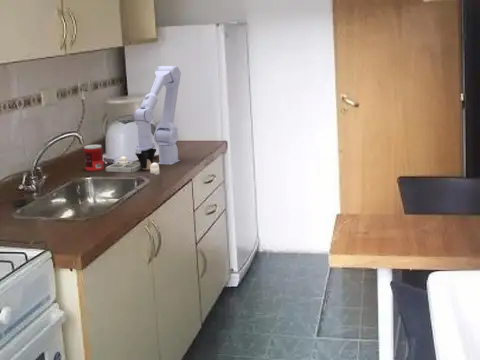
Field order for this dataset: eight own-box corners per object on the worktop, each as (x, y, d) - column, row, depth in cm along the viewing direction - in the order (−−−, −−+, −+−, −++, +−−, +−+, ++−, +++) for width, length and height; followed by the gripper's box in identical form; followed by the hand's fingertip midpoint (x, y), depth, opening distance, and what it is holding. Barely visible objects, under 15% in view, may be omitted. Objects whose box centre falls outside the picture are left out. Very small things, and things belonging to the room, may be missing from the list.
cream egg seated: (122, 165, 305) (121, 155, 304) (129, 166, 304) (128, 155, 302) (117, 167, 301) (117, 156, 300) (125, 168, 300) (124, 157, 299)
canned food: (105, 168, 304) (103, 144, 301) (100, 172, 296) (98, 147, 293) (89, 168, 304) (87, 144, 302) (83, 172, 297) (81, 147, 294)
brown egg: (145, 168, 300) (144, 158, 299) (153, 169, 299) (152, 158, 298) (141, 170, 297) (140, 159, 295) (149, 171, 295) (148, 160, 294)
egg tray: (120, 166, 307) (120, 161, 306) (147, 167, 303) (146, 162, 302) (105, 172, 295) (105, 167, 294) (133, 173, 291) (132, 168, 290)
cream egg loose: (152, 172, 292) (152, 161, 291) (160, 173, 290) (160, 161, 289) (148, 174, 288) (148, 163, 287) (157, 175, 287) (156, 163, 286)
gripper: (144, 133, 302) (146, 163, 305) (128, 138, 289) (130, 169, 292) (158, 133, 300) (160, 163, 303) (143, 139, 287) (145, 170, 290)
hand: (146, 166), depth 297 cm, fingers open, 5 cm apart
